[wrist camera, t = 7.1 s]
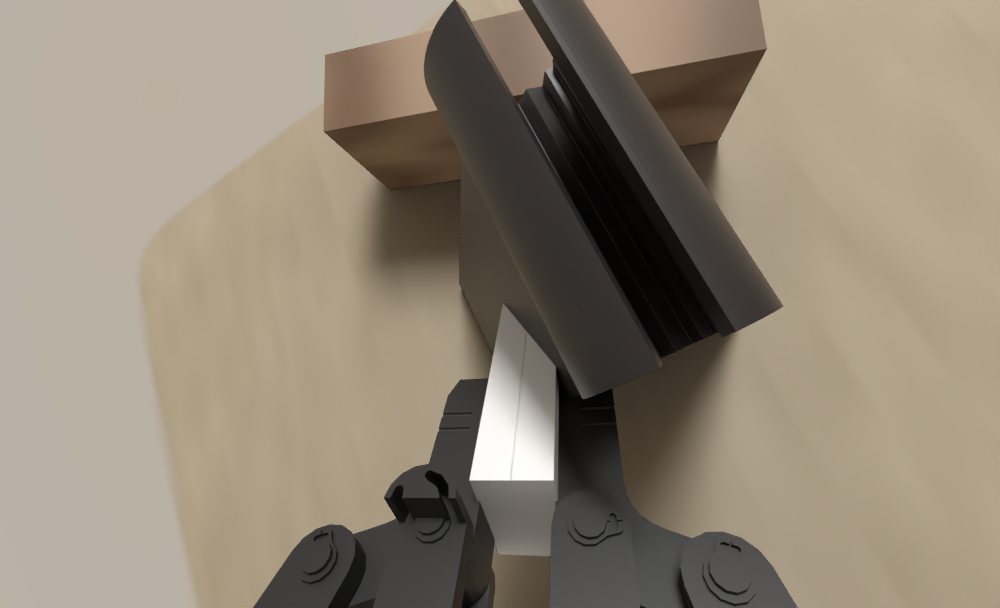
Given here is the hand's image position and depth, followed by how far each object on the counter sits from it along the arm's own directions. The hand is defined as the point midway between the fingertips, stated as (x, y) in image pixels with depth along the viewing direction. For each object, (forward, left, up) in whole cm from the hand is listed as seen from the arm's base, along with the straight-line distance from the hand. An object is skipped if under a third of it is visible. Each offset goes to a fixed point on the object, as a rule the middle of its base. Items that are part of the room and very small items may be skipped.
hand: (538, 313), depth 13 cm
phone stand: (-2, -1, -4) cm, 5 cm away
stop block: (0, -8, -4) cm, 9 cm away
